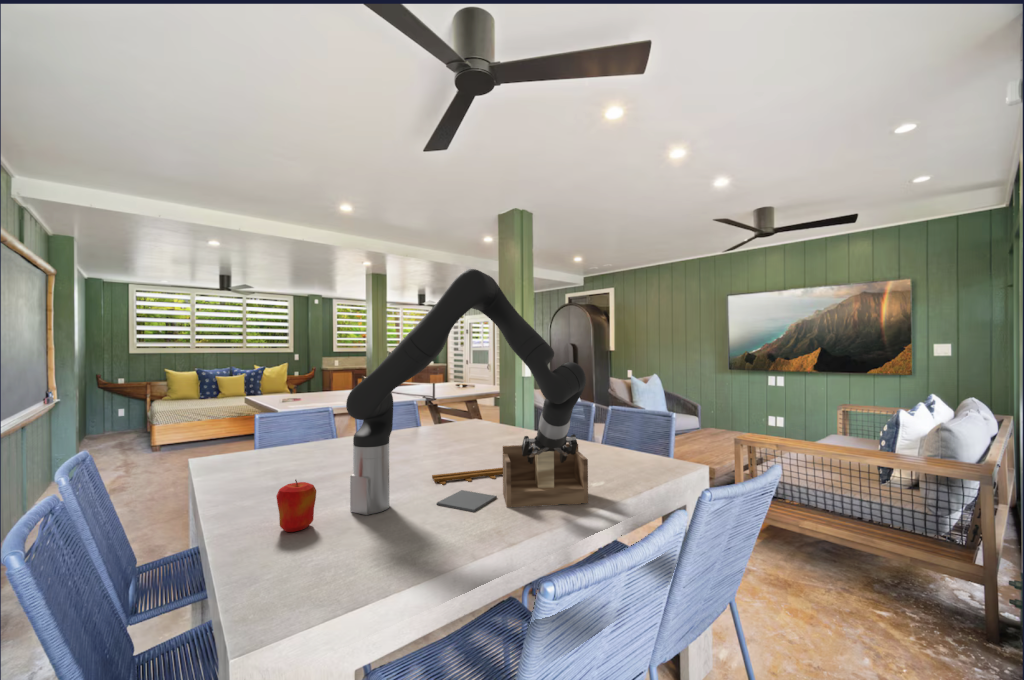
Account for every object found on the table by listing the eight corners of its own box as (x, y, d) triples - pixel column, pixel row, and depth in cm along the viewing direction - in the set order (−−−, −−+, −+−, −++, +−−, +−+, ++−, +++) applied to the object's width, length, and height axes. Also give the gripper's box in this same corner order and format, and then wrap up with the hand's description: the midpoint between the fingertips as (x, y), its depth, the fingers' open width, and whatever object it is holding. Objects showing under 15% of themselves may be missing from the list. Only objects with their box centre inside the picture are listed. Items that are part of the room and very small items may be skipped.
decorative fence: (430, 478, 147) (436, 487, 137) (430, 473, 147) (436, 481, 137) (502, 471, 155) (511, 478, 146) (502, 465, 155) (511, 472, 146)
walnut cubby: (588, 503, 120) (587, 452, 120) (506, 507, 118) (506, 454, 118) (577, 490, 131) (577, 443, 132) (502, 493, 129) (502, 445, 129)
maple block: (554, 487, 122) (553, 451, 122) (538, 488, 121) (537, 451, 121) (550, 482, 126) (550, 447, 126) (535, 483, 126) (535, 448, 126)
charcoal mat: (473, 512, 115) (473, 509, 115) (436, 504, 120) (436, 502, 120) (496, 498, 125) (496, 495, 125) (461, 492, 131) (461, 490, 131)
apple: (290, 539, 99) (290, 486, 99) (268, 531, 103) (268, 481, 103) (323, 525, 106) (323, 476, 107) (301, 519, 110) (301, 472, 111)
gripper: (578, 413, 113) (569, 447, 125) (524, 414, 112) (519, 449, 123) (584, 437, 108) (573, 471, 119) (527, 439, 106) (521, 473, 118)
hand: (546, 460), depth 121 cm, fingers open, 8 cm apart
